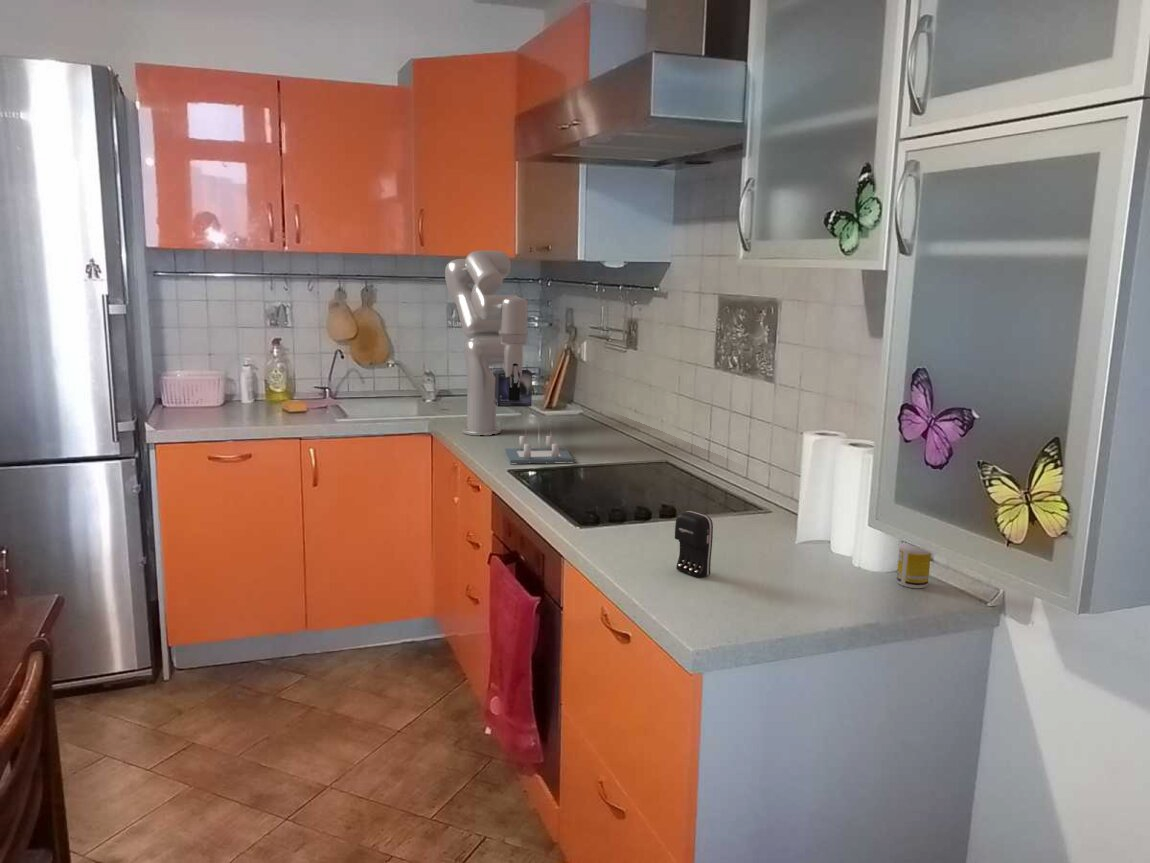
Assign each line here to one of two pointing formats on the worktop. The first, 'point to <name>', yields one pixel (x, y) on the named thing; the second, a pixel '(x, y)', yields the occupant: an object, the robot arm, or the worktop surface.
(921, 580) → the supplement bottle
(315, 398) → the worktop surface
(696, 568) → the battery charger
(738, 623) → the worktop surface
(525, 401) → the small box
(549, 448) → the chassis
